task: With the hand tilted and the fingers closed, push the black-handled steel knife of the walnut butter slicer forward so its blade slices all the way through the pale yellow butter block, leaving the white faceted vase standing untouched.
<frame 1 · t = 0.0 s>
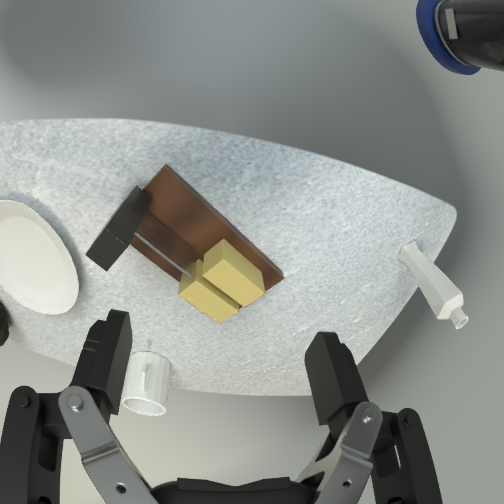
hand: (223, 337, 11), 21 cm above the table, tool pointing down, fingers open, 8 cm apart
plate: (30, 255, 31), on the table
white faceted vase: (407, 250, 37), on the table
butter: (221, 283, 32), on the slicer board, point 4 cm above the table
slicer board: (200, 247, 33), on the table
knife: (152, 248, 25), point 6 cm above the table, slide at 0.0 cm
mug: (150, 356, 46), on the table
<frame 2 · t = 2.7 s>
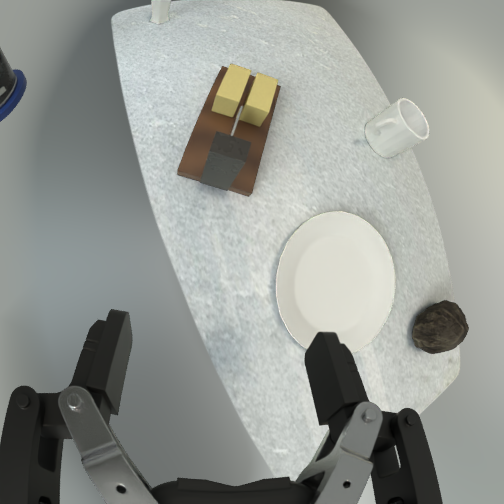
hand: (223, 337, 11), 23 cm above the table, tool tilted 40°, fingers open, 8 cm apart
plate: (335, 284, 39), on the table
white faceted vase: (159, 20, 35), on the table
butter: (245, 94, 34), on the slicer board, point 4 cm above the table
slicer board: (232, 125, 37), on the table
rock: (424, 327, 44), on the table
knife: (231, 136, 30), point 6 cm above the table, slide at 0.0 cm
mug: (373, 140, 45), on the table
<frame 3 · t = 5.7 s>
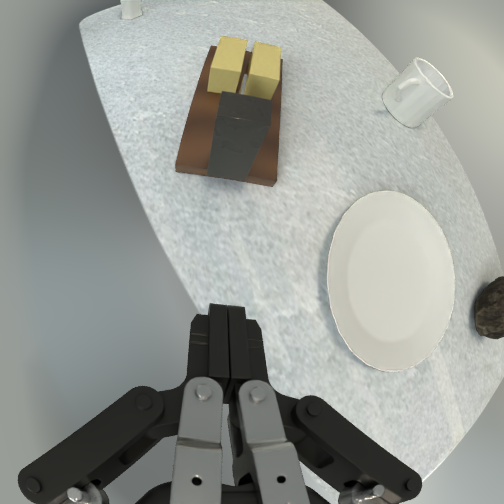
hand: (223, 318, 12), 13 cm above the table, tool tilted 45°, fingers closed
plate: (392, 281, 29), on the table
white faceted vase: (132, 16, 30), on the table
butter: (245, 67, 26), on the slicer board, point 4 cm above the table
slicer board: (236, 106, 29), on the table
rock: (482, 311, 33), on the table
knife: (240, 107, 22), point 6 cm above the table, slide at 0.0 cm
mug: (394, 110, 36), on the table
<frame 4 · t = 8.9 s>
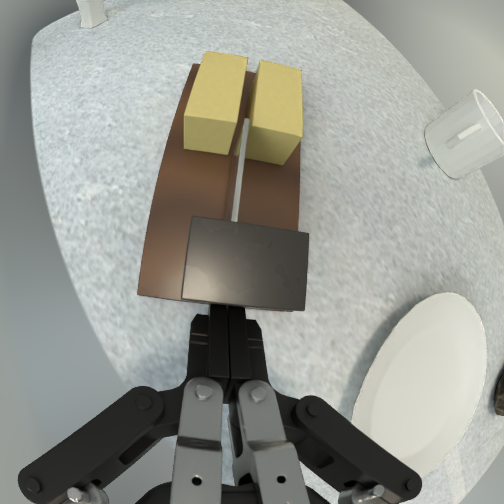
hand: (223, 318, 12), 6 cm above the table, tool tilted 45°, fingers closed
plate: (421, 395, 21), on the table
white faceted vase: (94, 22, 21), on the table
butter: (244, 104, 18), on the slicer board, point 4 cm above the table
slicer board: (230, 169, 20), on the table
rock: (502, 384, 24), on the table
knife: (237, 197, 13), point 6 cm above the table, slide at 1.0 cm, touching gripper
mug: (437, 154, 27), on the table
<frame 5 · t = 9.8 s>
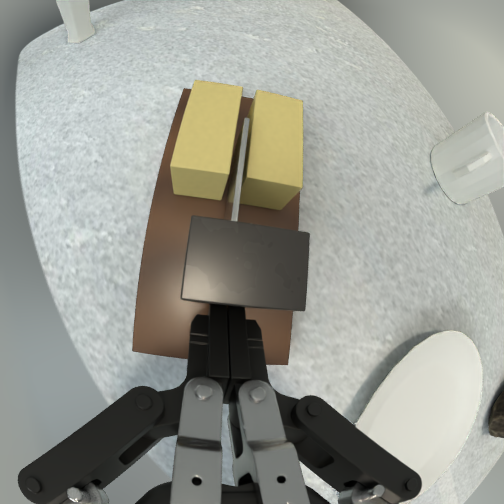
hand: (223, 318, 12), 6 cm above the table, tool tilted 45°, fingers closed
plate: (414, 426, 20), on the table
white faceted vase: (82, 37, 20), on the table
butter: (238, 143, 17), on the slicer board, point 4 cm above the table
slicer board: (224, 213, 19), on the table
rock: (498, 405, 24), on the table
knife: (237, 197, 13), point 6 cm above the table, slide at 4.5 cm, touching gripper
mug: (443, 179, 26), on the table
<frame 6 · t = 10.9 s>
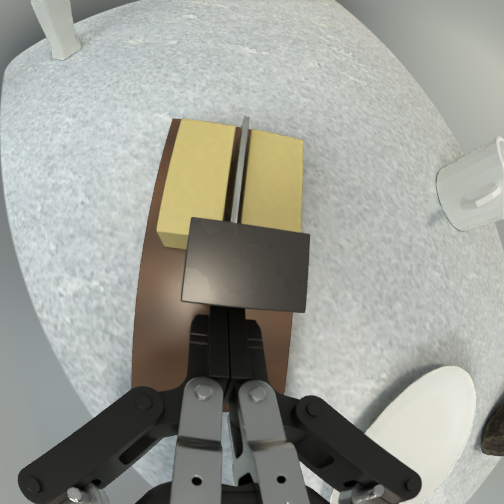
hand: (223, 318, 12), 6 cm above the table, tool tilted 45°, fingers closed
plate: (405, 452, 19), on the table
white faceted vase: (67, 52, 19), on the table
butter: (231, 191, 16), on the slicer board, point 4 cm above the table
slicer board: (218, 262, 19), on the table
rock: (492, 423, 23), on the table
knife: (237, 196, 13), point 6 cm above the table, slide at 8.1 cm, touching gripper
mug: (448, 204, 25), on the table
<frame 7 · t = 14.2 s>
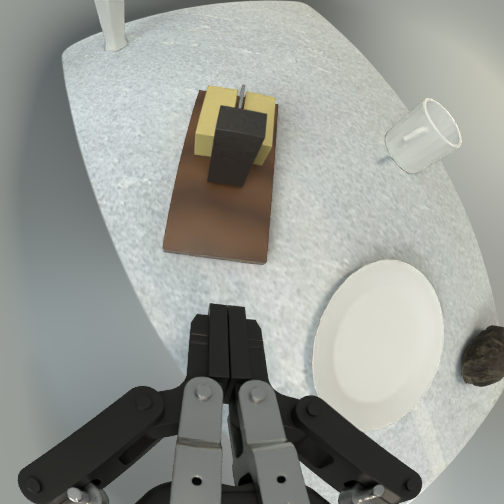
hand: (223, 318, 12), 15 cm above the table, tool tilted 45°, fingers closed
plate: (379, 346, 29), on the table
white faceted vase: (116, 46, 30), on the table
butter: (235, 124, 27), on the slicer board, point 4 cm above the table
slicer board: (226, 168, 29), on the table
rock: (471, 357, 33), on the table
knife: (238, 118, 23), point 6 cm above the table, slide at 8.0 cm
mug: (397, 154, 36), on the table
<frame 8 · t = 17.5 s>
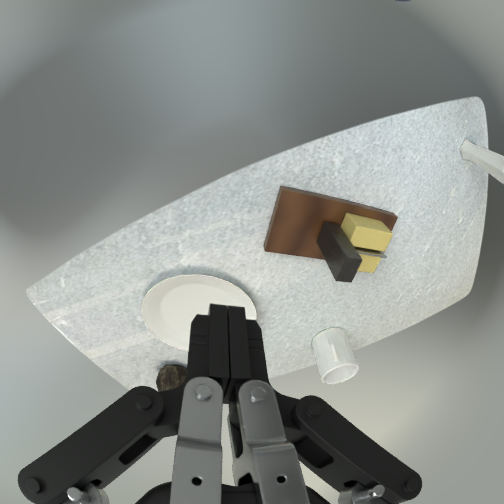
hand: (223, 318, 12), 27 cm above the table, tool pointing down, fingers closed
plate: (199, 310, 49), on the table
white faceted vase: (465, 148, 34), on the table
butter: (360, 243, 39), on the slicer board, point 4 cm above the table
slicer board: (332, 228, 42), on the table
rock: (176, 372, 61), on the table
knife: (360, 253, 37), point 6 cm above the table, slide at 8.0 cm
mug: (327, 333, 57), on the table
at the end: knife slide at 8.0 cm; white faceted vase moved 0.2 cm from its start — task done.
